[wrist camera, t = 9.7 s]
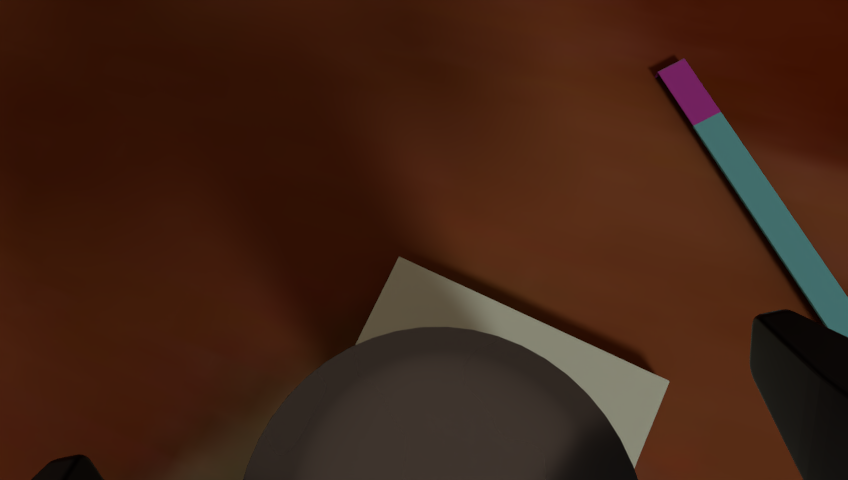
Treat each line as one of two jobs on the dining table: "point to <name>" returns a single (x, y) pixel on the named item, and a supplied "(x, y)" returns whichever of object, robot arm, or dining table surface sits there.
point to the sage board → (464, 308)
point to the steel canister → (439, 416)
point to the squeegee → (759, 197)
